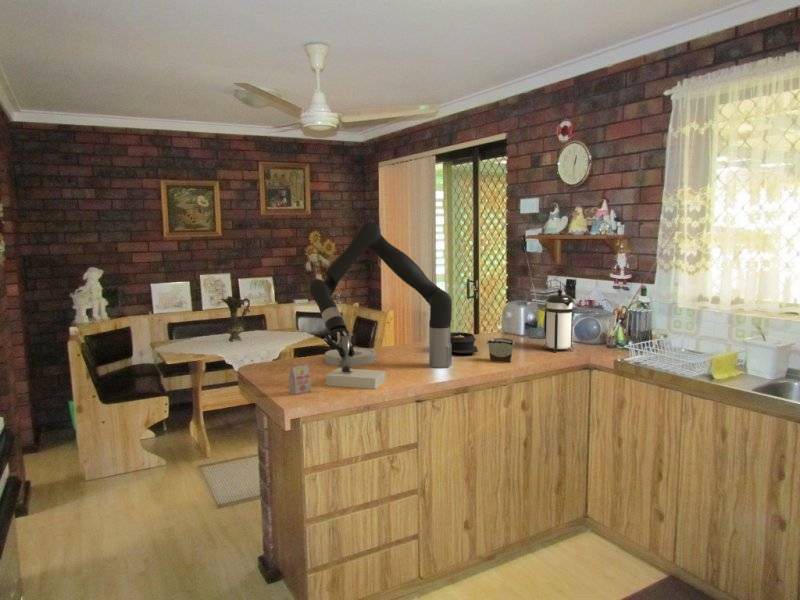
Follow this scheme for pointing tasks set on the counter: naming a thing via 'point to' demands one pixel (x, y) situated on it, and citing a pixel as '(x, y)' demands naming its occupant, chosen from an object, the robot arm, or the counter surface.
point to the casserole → (462, 343)
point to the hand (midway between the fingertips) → (348, 356)
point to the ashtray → (359, 358)
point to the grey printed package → (299, 380)
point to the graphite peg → (346, 353)
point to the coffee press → (558, 321)
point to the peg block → (356, 378)
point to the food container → (500, 349)
